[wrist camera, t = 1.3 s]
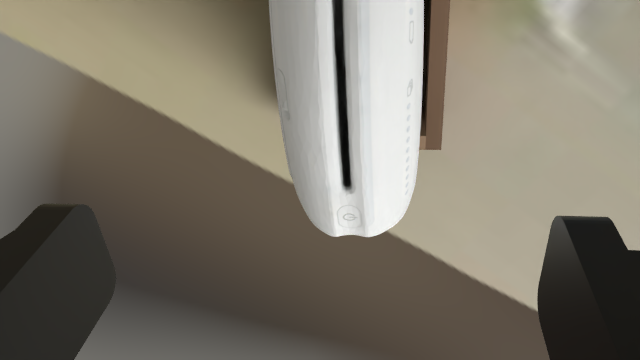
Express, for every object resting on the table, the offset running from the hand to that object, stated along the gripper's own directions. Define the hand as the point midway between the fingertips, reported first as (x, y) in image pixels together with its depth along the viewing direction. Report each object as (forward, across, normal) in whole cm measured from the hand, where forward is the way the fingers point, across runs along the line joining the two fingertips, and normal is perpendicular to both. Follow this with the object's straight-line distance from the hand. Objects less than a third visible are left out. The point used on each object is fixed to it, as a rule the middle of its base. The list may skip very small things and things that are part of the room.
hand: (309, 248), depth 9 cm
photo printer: (+18, 0, 0) cm, 18 cm away
